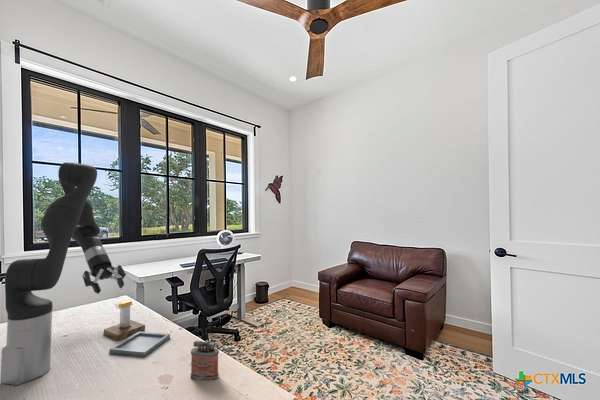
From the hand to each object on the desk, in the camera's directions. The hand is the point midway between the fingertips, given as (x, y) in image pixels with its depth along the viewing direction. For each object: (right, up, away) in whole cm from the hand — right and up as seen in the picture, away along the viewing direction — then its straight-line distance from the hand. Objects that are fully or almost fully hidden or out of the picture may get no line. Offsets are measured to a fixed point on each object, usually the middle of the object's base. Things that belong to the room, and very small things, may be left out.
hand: (110, 289), depth 109 cm
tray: (+22, -14, -16) cm, 31 cm away
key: (+9, -15, -6) cm, 18 cm away
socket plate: (+9, -15, -6) cm, 18 cm away
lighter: (+51, -14, -33) cm, 62 cm away
